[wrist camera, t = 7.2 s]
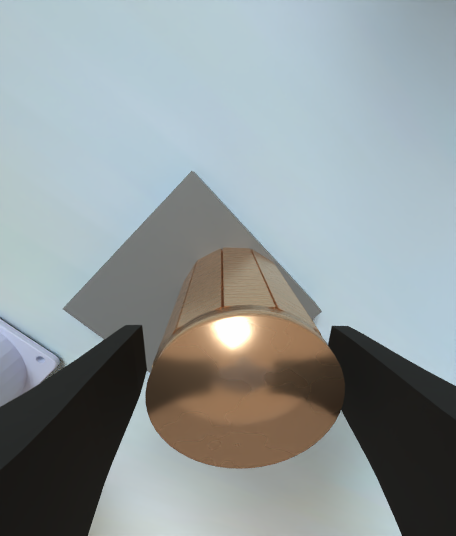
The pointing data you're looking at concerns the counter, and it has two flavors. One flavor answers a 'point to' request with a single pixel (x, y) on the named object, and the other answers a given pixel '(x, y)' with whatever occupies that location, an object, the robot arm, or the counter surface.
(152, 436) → the counter surface
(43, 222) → the counter surface
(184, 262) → the base
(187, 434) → the copper topped wooden cylinder
